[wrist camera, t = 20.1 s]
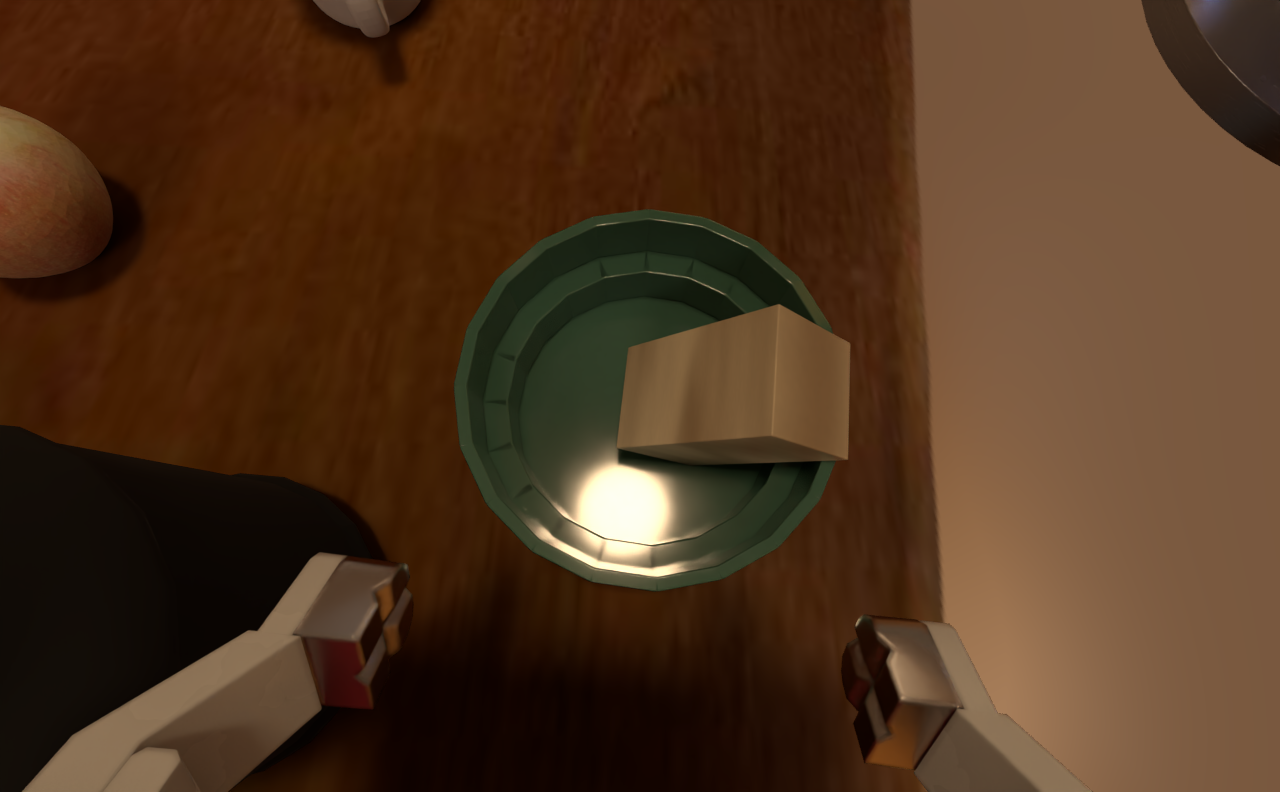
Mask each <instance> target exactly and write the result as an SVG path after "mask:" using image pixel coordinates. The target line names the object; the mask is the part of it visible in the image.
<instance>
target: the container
mask: <svg viewBox="0 0 1280 792" xmlns="http://www.w3.org/2000/svg"><path fill="white" fill-rule="evenodd" d="M319 552H322V553H330V554H337V555H345V556H354V557H361V558H368V559H372V557H371V555H370V553H369V551H368V549H367V547H366V545H365V543H364V541H363V539H362V536H361V534H360V532H359V530H358V528H357V526H356V524H355V523H353V522H352V521H351V520H350V519H349V518H348V517H347V516H346V515H345V514H344V513H343V512H342V511H341V510H340V509H339V508H338V507H337V506H336V505H335V504H334V503H332V502H331V501H330V500H329V499H328V498H327V497H326V496H325V495H323V494H321V493H319V492H317V491H314V490H312V489H310V488H308V487H305V486H303V485H301V484H298V483H296V482H294V481H292V480H289V479H287V478H285V477H275V476H263V475H252V474H241V473H240V474H235V475H225V474H220V473H215V472H209V471H204V470H198V469H193V468H188V467H182V466H177V465H172V464H166V463H161V462H155V461H150V460H145V459H139V458H134V457H128V456H123V455H118V454H112V453H107V452H101V451H96V450H91V449H85V448H80V447H74V446H69V445H64V444H58V443H55V442H53V441H50V440H48V439H46V438H44V437H41V436H39V435H37V434H34V433H32V432H30V431H28V430H25V429H23V428H21V427H16V426H5V425H0V792H22V791H23V790H24V789H25V788H26V787H27V786H28V784H29V783H30V782H31V781H32V780H33V779H34V778H35V777H36V775H37V774H38V773H39V772H40V771H41V770H42V769H43V768H44V766H45V765H46V764H47V763H48V762H49V761H50V760H51V759H52V757H53V756H54V755H55V754H56V753H57V752H58V751H59V750H60V749H61V747H62V746H63V745H64V744H65V743H66V742H67V741H68V740H69V738H70V737H71V736H72V735H74V734H75V733H77V732H79V731H80V730H82V729H84V728H85V727H87V726H89V725H90V724H92V723H94V722H95V721H97V720H99V719H100V718H102V717H104V716H105V715H107V714H109V713H110V712H112V711H114V710H115V709H117V708H119V707H121V706H122V705H124V704H126V703H127V702H129V701H131V700H132V699H134V698H136V697H137V696H139V695H141V694H142V693H144V692H146V691H147V690H149V689H151V688H152V687H154V686H156V685H157V684H159V683H161V682H162V681H164V680H166V679H167V678H169V677H171V676H173V675H174V674H176V673H178V672H179V671H181V670H183V669H184V668H186V667H188V666H189V665H191V664H193V663H194V662H196V661H198V660H199V659H201V658H203V657H204V656H206V655H208V654H209V653H211V652H213V651H214V650H216V649H218V648H220V647H221V646H223V645H225V644H226V643H228V642H230V641H231V640H233V639H235V638H236V637H238V636H240V635H241V634H243V633H245V632H246V631H248V630H251V631H258V630H259V628H260V627H261V625H262V624H263V623H264V621H265V620H266V619H267V617H268V616H269V614H270V613H271V612H272V610H273V609H274V608H275V606H276V605H277V603H278V602H279V601H280V599H281V598H282V597H283V595H284V594H285V593H286V591H287V590H288V588H289V587H290V586H291V584H292V583H293V582H294V580H295V579H296V577H297V576H298V575H299V573H300V572H301V571H302V569H303V568H304V567H305V565H306V564H307V562H308V561H309V560H310V559H311V558H312V557H313V556H315V555H316V554H318V553H319ZM340 709H341V707H333V706H322V709H321V710H320V711H319V712H318V713H317V714H316V715H314V716H313V717H312V718H311V719H310V720H309V721H308V722H307V723H305V724H304V725H303V726H302V727H301V728H300V729H299V730H297V731H296V732H295V733H294V734H293V735H292V736H291V737H290V738H288V739H287V740H286V741H285V742H284V743H283V744H282V745H280V746H279V747H278V748H277V749H276V750H275V751H274V752H272V753H271V754H270V755H269V756H268V757H267V758H266V759H265V760H263V761H262V762H261V763H260V764H259V765H258V766H257V767H255V768H254V769H253V770H252V771H251V772H250V773H249V774H248V775H246V776H245V777H244V778H243V779H242V780H241V781H243V780H244V779H245V778H247V777H248V776H249V775H251V774H254V773H258V772H262V771H265V770H266V769H268V768H269V767H271V766H273V765H274V764H276V763H277V762H279V761H281V760H282V759H284V758H285V757H287V756H289V755H290V754H292V753H293V752H295V751H297V750H298V749H300V748H301V747H303V746H305V745H306V744H308V743H309V742H311V741H312V739H313V738H314V737H315V736H316V735H317V734H318V733H319V732H320V731H321V730H322V728H323V727H324V726H325V725H326V724H327V723H328V722H329V721H330V720H331V718H332V717H333V716H334V715H335V714H336V713H337V712H338V711H339V710H340ZM241 781H240V782H241ZM240 782H238V783H240ZM238 783H237V784H238ZM237 784H236V785H237ZM236 785H235V786H236Z"/></svg>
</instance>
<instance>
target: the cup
mask: <svg viewBox="0 0 1280 792" xmlns="http://www.w3.org/2000/svg"><path fill="white" fill-rule="evenodd" d="M313 1H314V2H315V3H316V5H317V6H318V7H319V8H320V9H321V10H322V11H324V12H325V13H326V14H327V15H328V16H330V17H331V18H333V19H334V20H336V21H338V22H340V23H342V24H344V25H347V26H351V27H354V28H360V29H361V31H362V32H363V33H364V34H365V35H366V36H368V37H371V38H374V37H380V36H383V35H386V34H387V33H388V32H389V26H390V25H393V24H395V23H397V22H399V21H401V20H402V19H404V18H406V17H407V16H408V15H409V14H410V13H411V12H412V11H413V10H414V9H415V8H416V7H417V5H418V4H419V2H420V1H421V0H313Z"/></svg>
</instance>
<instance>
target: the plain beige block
mask: <svg viewBox="0 0 1280 792" xmlns="http://www.w3.org/2000/svg"><path fill="white" fill-rule="evenodd" d="M849 381H850V343H848V342H847V341H845V340H843V339H841V338H839V337H838V336H836V335H834V334H832V333H830V332H829V331H827V330H825V329H823V328H821V327H820V326H818V325H816V324H814V323H812V322H811V321H809V320H807V319H805V318H803V317H802V316H800V315H798V314H796V313H794V312H793V311H791V310H789V309H787V308H785V307H783V306H782V305H780V304H778V305H774V306H771V307H767V308H764V309H760V310H757V311H753V312H750V313H746V314H743V315H739V316H736V317H732V318H729V319H726V320H722V321H719V322H715V323H712V324H708V325H705V326H701V327H698V328H694V329H691V330H687V331H684V332H680V333H677V334H673V335H670V336H667V337H663V338H660V339H656V340H653V341H649V342H646V343H642V344H639V345H635V346H632V347H629V348H628V355H627V363H626V372H625V380H624V388H623V397H622V405H621V414H620V422H619V430H618V439H617V448H618V449H622V450H627V451H631V452H635V453H639V454H644V455H648V456H652V457H657V458H661V459H665V460H669V461H674V462H678V463H682V464H687V465H691V466H692V465H720V464H747V463H775V462H803V461H831V460H847V459H848V432H849Z"/></svg>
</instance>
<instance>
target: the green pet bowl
mask: <svg viewBox="0 0 1280 792" xmlns="http://www.w3.org/2000/svg"><path fill="white" fill-rule="evenodd" d="M778 304H780V305H782V306H783V307H785V308H787V309H789V310H791V311H793V312H794V313H796V314H798V315H800V316H802V317H803V318H805V319H807V320H809V321H811V322H812V323H814V324H816V325H818V326H820V327H821V328H823V329H825V330H827V331H829V332H830V333H832V334H833V332H832V328H830V327H831V326H830V324H829V323H828V321H827V320H826V318H825V316H824V315H823V313H822V312H821V310H820V309H819V307H818V305H817V304H816V302H815V301H814V299H813V298H812V296H811V294H810V293H809V291H808V290H807V288H806V287H805V285H804V283H803V282H802V280H801V279H800V278H799V277H798V276H797V275H796V274H795V273H794V272H792V271H791V270H790V269H789V268H788V267H787V266H785V265H784V264H783V263H782V262H781V261H780V260H778V259H777V258H776V257H775V256H774V255H773V254H771V253H770V252H769V251H768V250H767V249H766V248H764V247H763V246H762V245H761V244H760V243H759V242H756V240H754V239H751V238H749V237H747V236H745V235H743V234H740V233H738V232H736V231H734V230H732V229H729V228H727V227H725V226H723V225H721V224H718V223H716V222H714V221H712V220H710V219H707V218H704V217H699V216H692V215H685V214H679V213H672V212H665V211H658V210H651V209H649V210H648V209H646V210H639V211H631V212H624V213H617V214H609V215H602V216H594V217H591V218H589V219H586V220H584V221H582V222H580V223H578V224H575V225H573V226H571V227H569V228H566V229H564V230H562V231H560V232H557V233H555V234H553V235H551V236H548V237H546V238H544V239H542V240H541V241H539V242H538V243H537V244H535V245H534V246H533V247H532V248H531V249H530V250H529V251H527V252H526V253H525V254H524V255H523V256H522V257H521V258H519V259H518V260H517V261H516V262H515V263H514V264H512V265H511V266H510V267H509V268H508V269H507V270H506V271H504V272H503V273H502V274H501V275H500V276H499V277H498V278H497V279H496V281H495V282H494V284H493V286H492V287H491V289H490V291H489V292H488V294H487V296H486V297H485V299H484V301H483V302H482V304H481V305H480V307H479V309H478V310H477V312H476V314H475V315H474V317H473V319H472V320H471V322H470V324H469V325H468V328H467V330H466V334H465V338H464V343H463V347H462V351H461V356H460V360H459V364H458V369H457V373H456V377H455V382H454V395H455V405H456V415H457V425H458V435H459V445H460V446H461V447H460V449H461V451H462V453H463V455H464V457H465V459H466V462H467V464H468V466H469V468H470V470H471V472H472V475H473V477H474V479H475V481H476V483H477V486H478V488H479V490H480V492H481V494H482V496H483V499H484V501H485V503H486V504H487V506H488V507H489V508H490V509H491V510H492V511H493V512H494V513H495V514H496V515H497V516H498V517H499V518H500V519H501V520H502V521H503V522H504V523H505V524H506V526H507V527H508V528H509V529H510V530H511V531H512V532H513V533H514V534H515V535H516V536H517V537H518V538H519V539H520V540H521V541H522V542H523V543H524V544H525V545H526V546H527V547H528V549H529V550H531V551H532V552H533V553H535V554H537V555H539V556H541V557H543V558H545V559H547V560H549V561H551V562H553V563H555V564H557V565H559V566H560V567H562V568H564V569H566V570H568V571H570V572H572V573H574V574H576V575H578V576H580V577H582V578H584V579H586V580H588V581H591V582H594V583H600V584H607V585H614V586H621V587H628V588H634V589H641V590H648V591H655V592H656V591H664V590H669V589H675V588H680V587H685V586H691V585H696V584H701V583H707V582H712V581H717V580H721V579H724V578H726V577H728V576H729V575H731V574H733V573H735V572H736V571H738V570H740V569H742V568H743V567H745V566H747V565H749V564H750V563H752V562H754V561H756V560H757V559H759V558H761V557H763V556H765V555H766V554H768V553H770V552H772V551H773V550H775V549H777V548H778V547H779V546H780V545H781V544H782V543H783V542H784V541H785V540H786V538H787V537H788V536H789V535H790V534H791V533H792V532H793V530H794V529H795V528H796V527H797V526H798V525H799V524H800V522H801V521H802V520H803V519H804V518H805V517H806V516H807V514H808V513H809V512H810V511H811V510H812V509H813V507H814V506H815V505H816V504H817V503H818V502H819V499H821V497H822V494H823V492H824V489H825V487H826V484H827V482H828V479H829V477H830V474H831V472H832V469H833V467H834V464H835V462H836V460H831V461H803V462H775V463H747V464H720V465H692V466H691V465H687V464H682V463H678V462H674V461H669V460H665V459H661V458H657V457H652V456H648V455H644V454H639V453H635V452H631V451H627V450H622V449H618V448H617V439H618V430H619V422H620V414H621V405H622V397H623V388H624V380H625V372H626V363H627V355H628V348H629V347H632V346H635V345H639V344H642V343H646V342H649V341H653V340H656V339H660V338H663V337H667V336H670V335H673V334H677V333H680V332H684V331H687V330H691V329H694V328H698V327H701V326H705V325H708V324H712V323H715V322H719V321H722V320H726V319H729V318H732V317H736V316H739V315H743V314H746V313H750V312H753V311H757V310H760V309H764V308H767V307H771V306H774V305H778Z"/></svg>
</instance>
